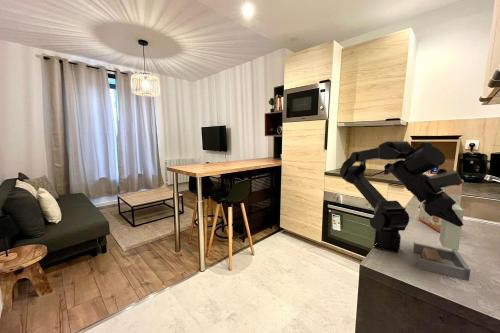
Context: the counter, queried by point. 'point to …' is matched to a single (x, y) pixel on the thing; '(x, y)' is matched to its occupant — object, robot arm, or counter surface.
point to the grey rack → (456, 271)
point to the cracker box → (434, 221)
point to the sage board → (451, 231)
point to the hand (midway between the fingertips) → (458, 222)
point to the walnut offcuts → (431, 255)
